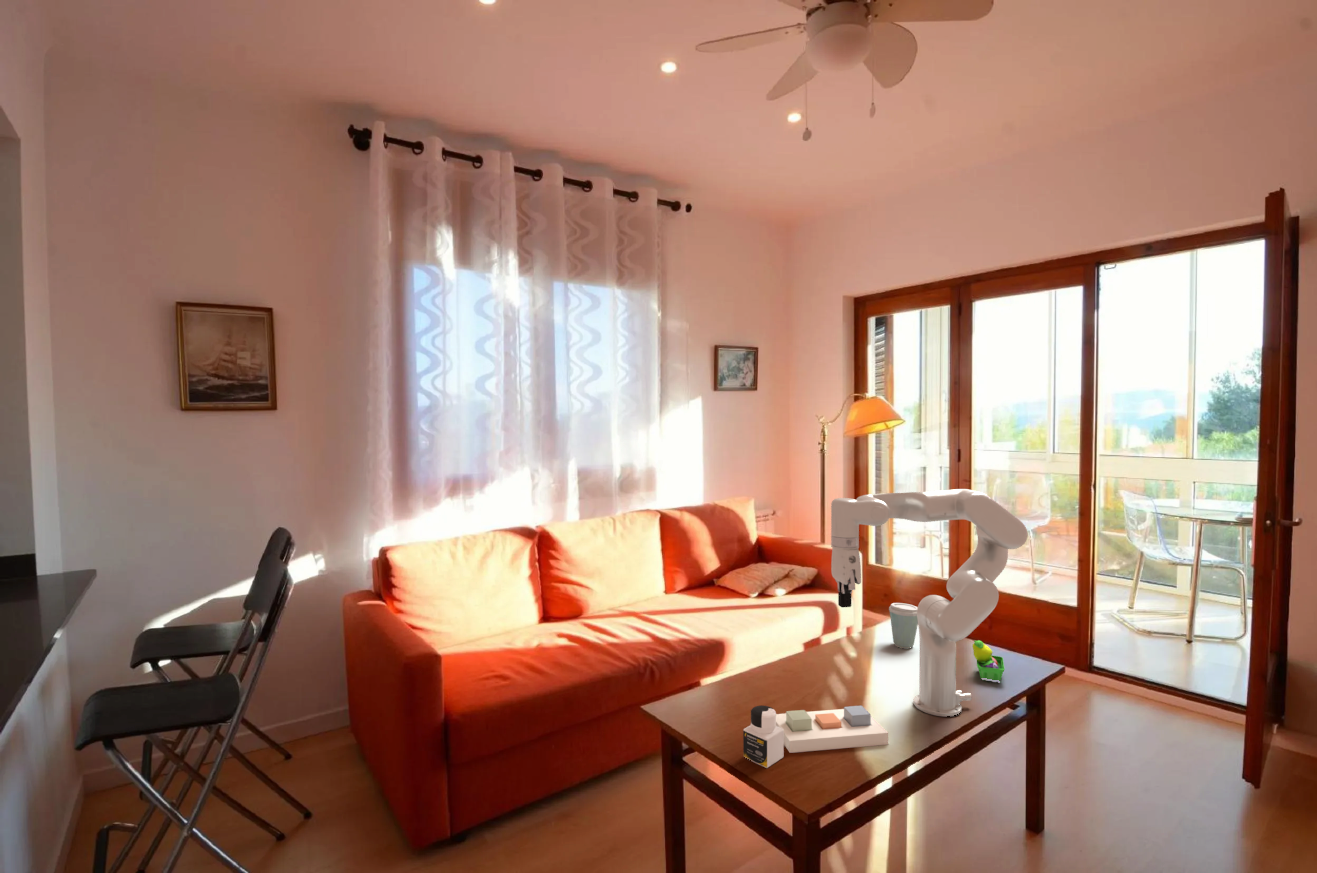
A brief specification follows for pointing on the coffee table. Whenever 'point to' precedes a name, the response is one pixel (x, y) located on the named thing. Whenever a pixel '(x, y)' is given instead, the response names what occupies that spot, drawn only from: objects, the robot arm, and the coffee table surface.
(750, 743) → the medicine bottle
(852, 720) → the key slate
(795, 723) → the key sage
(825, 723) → the key terracotta
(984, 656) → the fruit basket
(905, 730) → the coffee table surface
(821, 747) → the key board
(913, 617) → the disposable coffee cup
